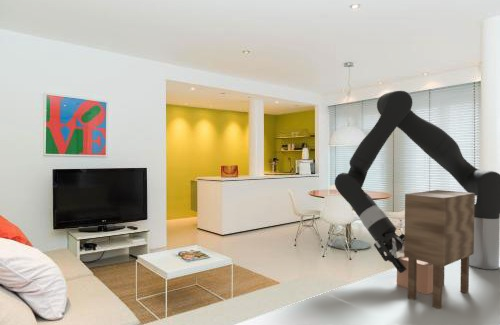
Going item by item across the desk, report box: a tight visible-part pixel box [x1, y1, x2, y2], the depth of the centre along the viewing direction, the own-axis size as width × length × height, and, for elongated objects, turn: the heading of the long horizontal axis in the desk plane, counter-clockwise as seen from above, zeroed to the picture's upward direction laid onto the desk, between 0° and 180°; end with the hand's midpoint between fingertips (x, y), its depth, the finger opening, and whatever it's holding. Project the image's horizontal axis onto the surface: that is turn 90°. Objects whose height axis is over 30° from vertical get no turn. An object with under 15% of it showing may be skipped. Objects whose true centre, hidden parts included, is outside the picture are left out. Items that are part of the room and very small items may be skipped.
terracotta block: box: [396, 255, 433, 295], centre depth 97 cm, size 4×9×8 cm, turn 36°
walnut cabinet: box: [403, 189, 476, 309], centre depth 92 cm, size 18×11×28 cm, turn 126°
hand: (411, 268), depth 98 cm, fingers open, 8 cm apart
